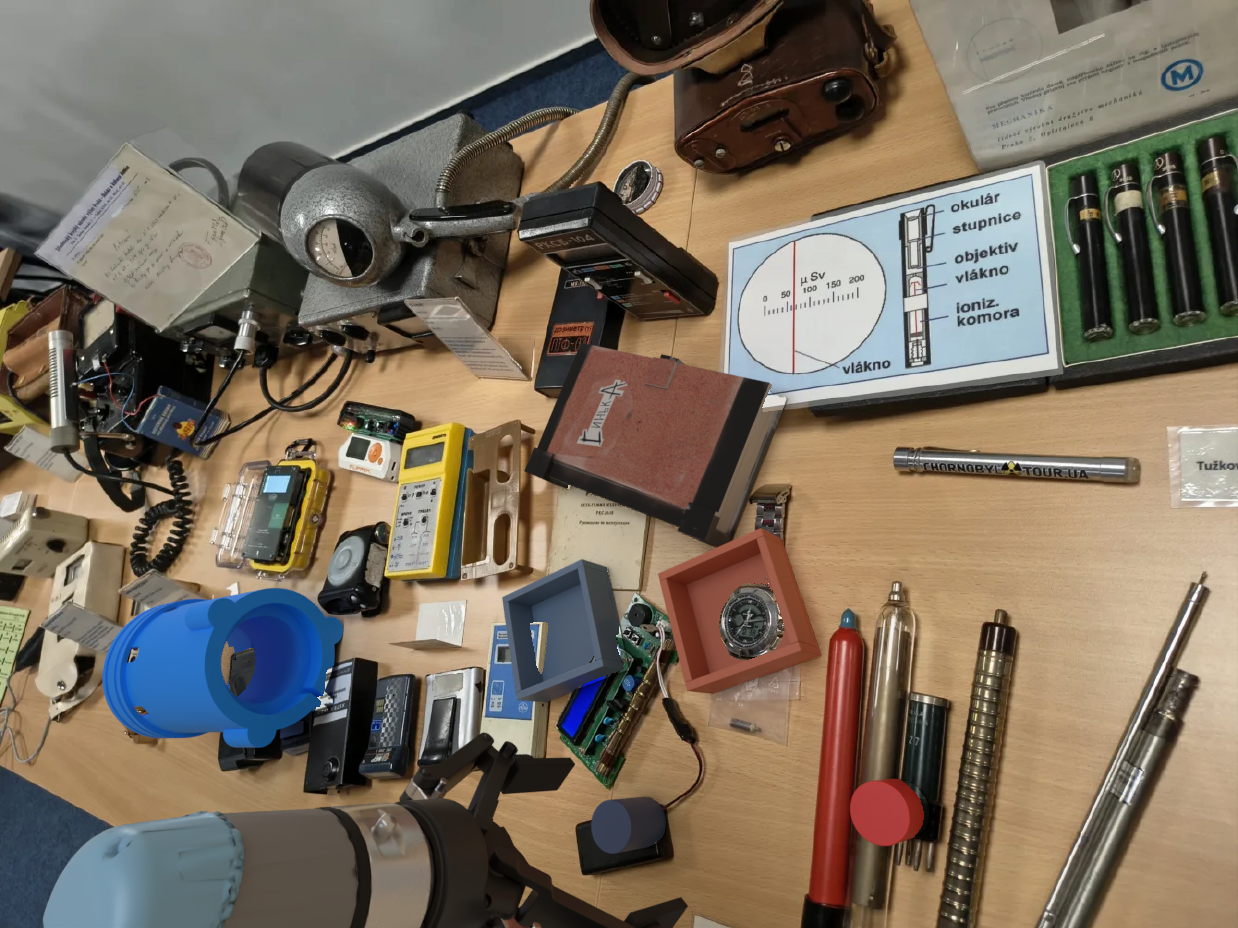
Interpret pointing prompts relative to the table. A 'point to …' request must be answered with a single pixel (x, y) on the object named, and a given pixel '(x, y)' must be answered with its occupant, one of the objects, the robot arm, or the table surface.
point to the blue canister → (627, 824)
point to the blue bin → (563, 631)
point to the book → (658, 439)
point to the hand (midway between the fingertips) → (615, 839)
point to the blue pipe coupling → (191, 666)
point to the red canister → (886, 812)
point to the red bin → (705, 590)
